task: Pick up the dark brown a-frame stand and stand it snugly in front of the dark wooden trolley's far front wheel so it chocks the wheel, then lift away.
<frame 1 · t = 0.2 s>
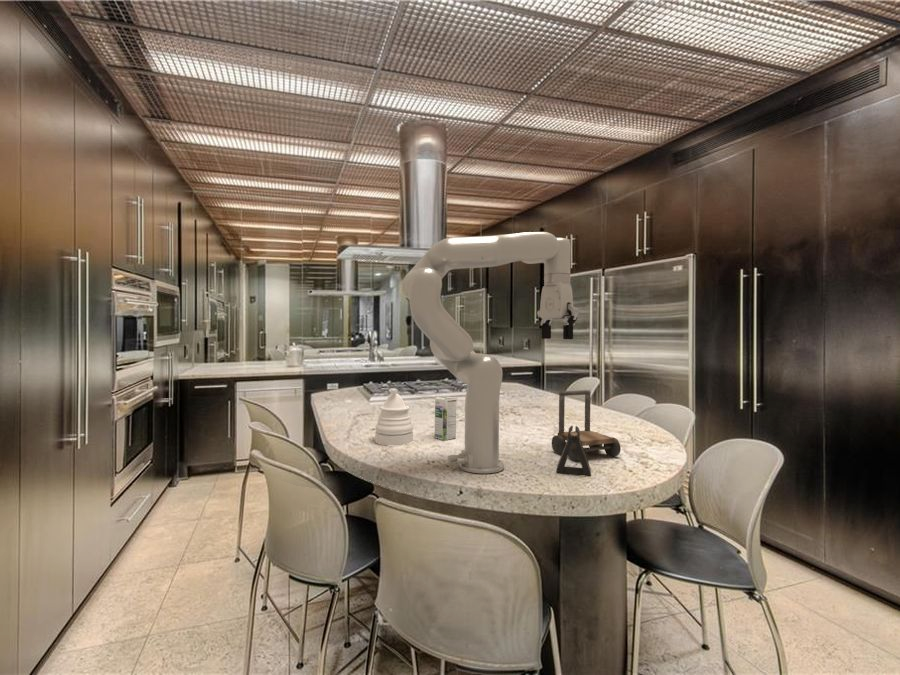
hand: (556, 338, 136), 36 cm above the countertop, tool pointing down, fingers open, 9 cm apart
trolley: (585, 454, 143), on the countertop
honey pot: (394, 441, 158), on the countertop
syrup box: (445, 438, 163), on the countertop
dark brown a-frame stand: (573, 472, 125), on the countertop
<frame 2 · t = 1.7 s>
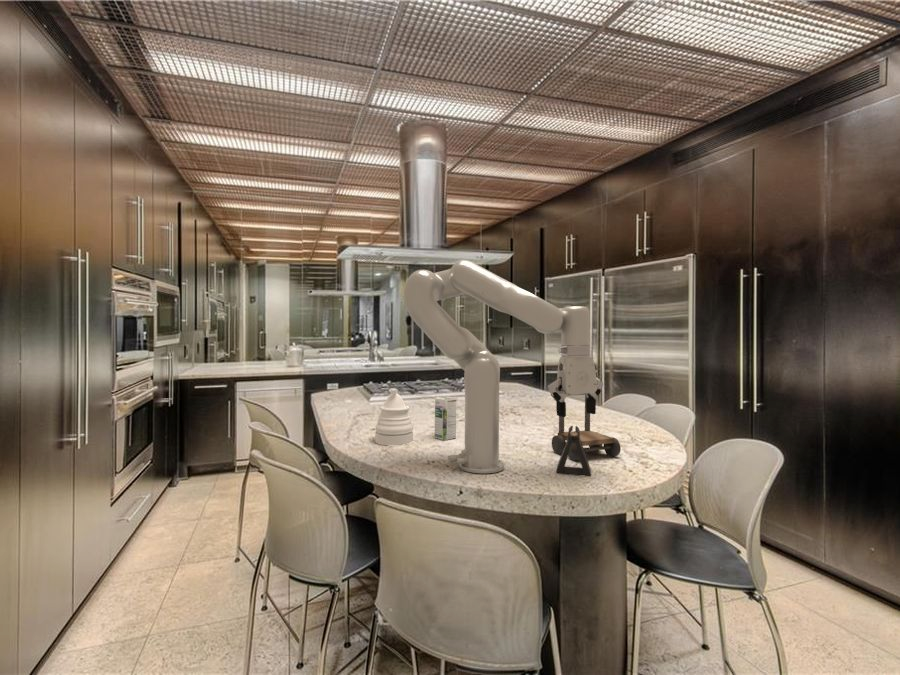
hand: (576, 414, 125), 15 cm above the countertop, tool pointing down, fingers open, 9 cm apart
nothing on the countertop moved.
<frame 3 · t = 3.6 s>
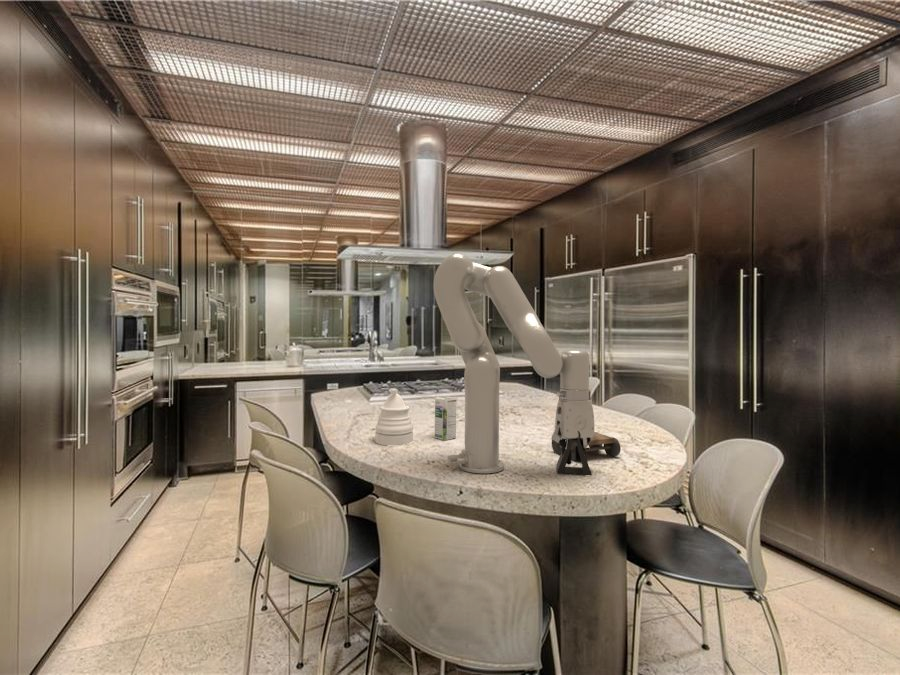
hand: (573, 461, 125), 3 cm above the countertop, tool pointing down, fingers closed on dark brown a-frame stand, 3 cm apart
dark brown a-frame stand: (573, 472, 125), on the countertop, touching gripper
everything else where it was.
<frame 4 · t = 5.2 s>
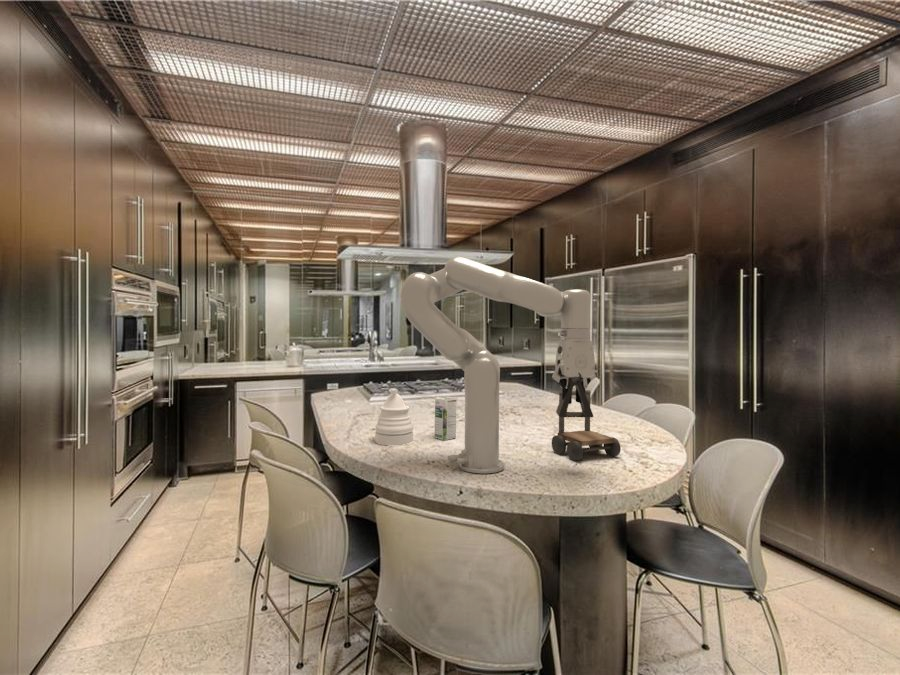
hand: (573, 402, 125), 19 cm above the countertop, tool pointing down, fingers closed on dark brown a-frame stand, 3 cm apart
dark brown a-frame stand: (574, 415, 125), point 15 cm above the countertop, touching gripper
everything else where it was.
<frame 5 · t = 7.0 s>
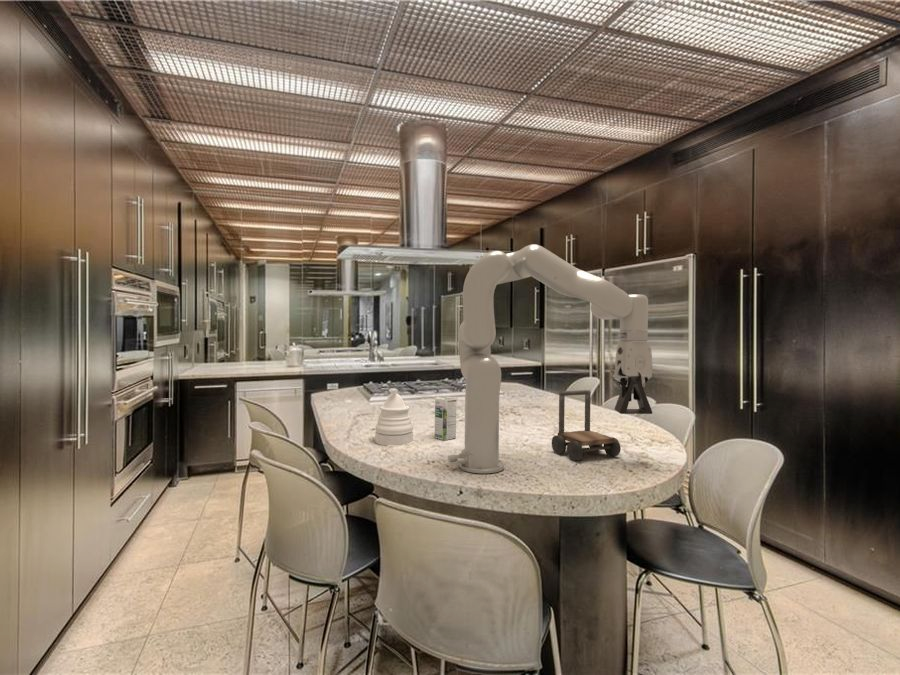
hand: (632, 399, 133), 18 cm above the countertop, tool pointing down, fingers closed on dark brown a-frame stand, 3 cm apart
dark brown a-frame stand: (633, 412, 134), point 15 cm above the countertop, touching gripper
everything else where it was.
when the fingers open (4 cm above the countertop, at t = 9.6 s): dark brown a-frame stand stays where it is, on the countertop.
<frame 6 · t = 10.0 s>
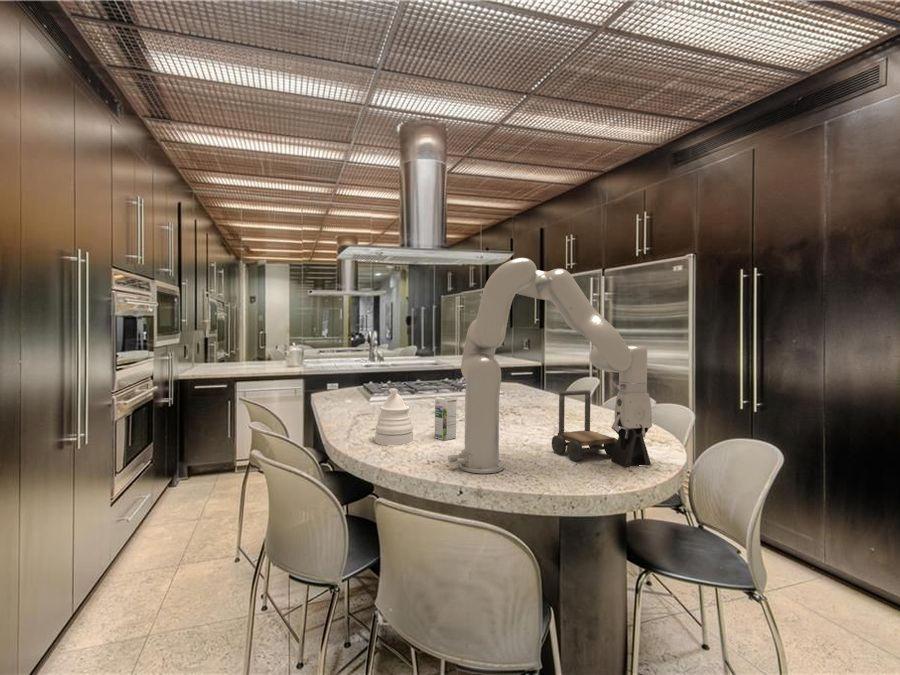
hand: (631, 450, 134), 4 cm above the countertop, tool pointing down, fingers open, 4 cm apart
dark brown a-frame stand: (630, 464, 134), on the countertop
everything else where it was.
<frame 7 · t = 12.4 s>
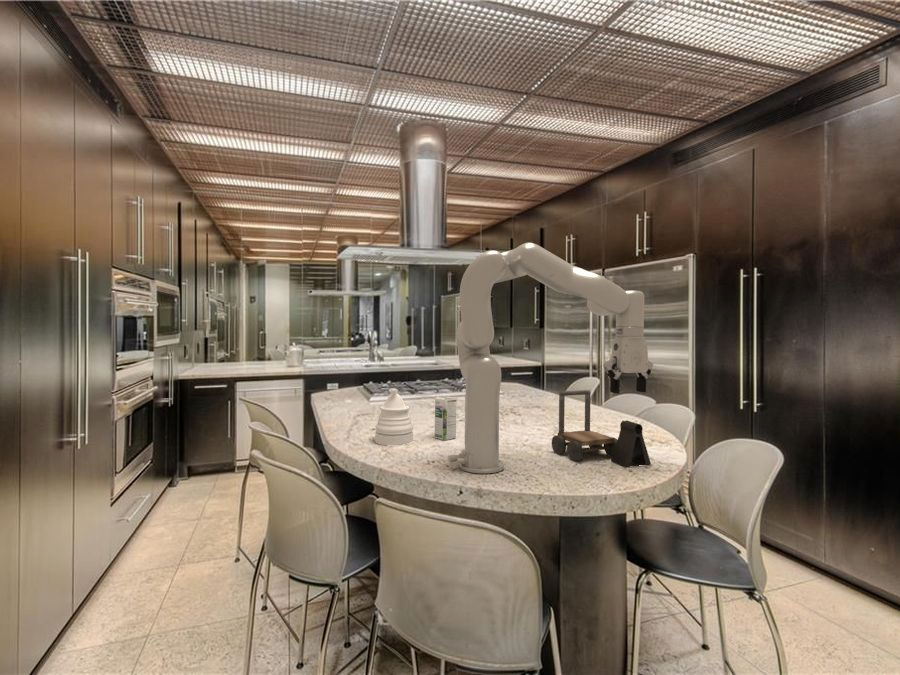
hand: (628, 392, 134), 21 cm above the countertop, tool pointing down, fingers open, 9 cm apart
nothing on the countertop moved.
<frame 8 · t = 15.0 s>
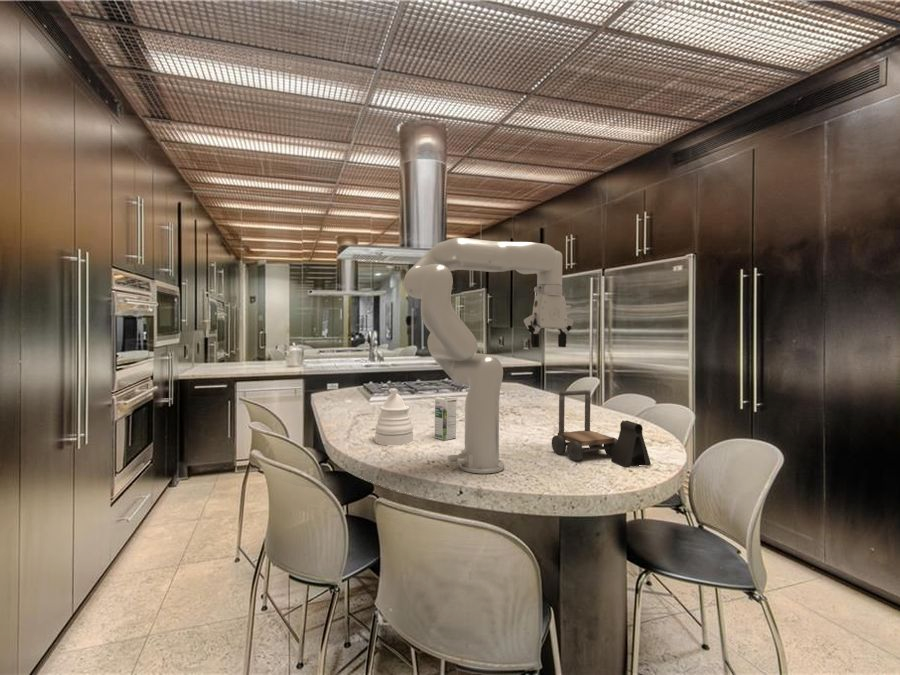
hand: (548, 347, 142), 33 cm above the countertop, tool pointing down, fingers open, 9 cm apart
nothing on the countertop moved.
at the end: dark brown a-frame stand 0.4 cm from the target spot on the countertop beside the trolley, on the countertop; dark brown a-frame stand tilted 0°; the gripper is holding nothing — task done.
